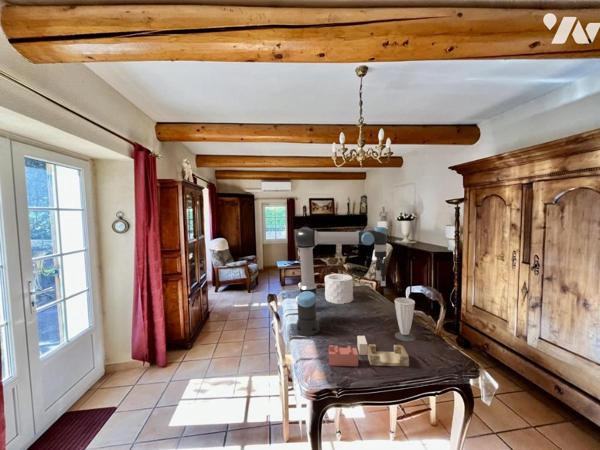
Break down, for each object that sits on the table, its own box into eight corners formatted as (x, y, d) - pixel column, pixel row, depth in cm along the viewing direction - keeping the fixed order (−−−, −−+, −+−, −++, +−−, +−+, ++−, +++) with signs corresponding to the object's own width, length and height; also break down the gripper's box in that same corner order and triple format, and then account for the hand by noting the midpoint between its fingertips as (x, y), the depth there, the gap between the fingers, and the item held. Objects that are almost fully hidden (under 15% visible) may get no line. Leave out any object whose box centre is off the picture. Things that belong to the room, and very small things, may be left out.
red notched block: (329, 365, 128) (328, 349, 127) (328, 358, 134) (328, 342, 133) (358, 366, 126) (357, 349, 126) (356, 359, 132) (356, 343, 132)
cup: (391, 332, 160) (391, 297, 159) (410, 332, 160) (410, 297, 159) (398, 341, 149) (398, 304, 148) (418, 341, 148) (418, 304, 147)
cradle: (370, 365, 126) (370, 355, 126) (366, 353, 137) (366, 344, 137) (409, 367, 125) (409, 356, 124) (402, 354, 136) (402, 345, 135)
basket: (355, 303, 212) (355, 280, 211) (326, 304, 212) (325, 281, 211) (350, 293, 236) (349, 273, 236) (323, 294, 237) (323, 273, 236)
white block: (367, 355, 136) (367, 344, 135) (359, 355, 136) (359, 344, 136) (364, 346, 145) (364, 335, 144) (357, 346, 145) (357, 335, 145)
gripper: (391, 253, 158) (391, 288, 159) (381, 248, 182) (382, 278, 184) (378, 253, 158) (379, 288, 159) (371, 248, 183) (371, 278, 184)
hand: (380, 282), depth 171 cm, fingers open, 13 cm apart
